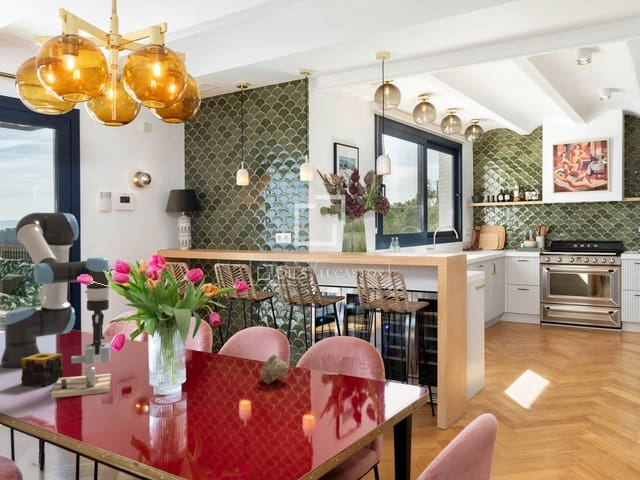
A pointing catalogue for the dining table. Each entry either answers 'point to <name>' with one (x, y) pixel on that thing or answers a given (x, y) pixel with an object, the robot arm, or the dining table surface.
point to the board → (81, 386)
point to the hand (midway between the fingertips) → (98, 359)
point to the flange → (89, 355)
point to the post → (90, 377)
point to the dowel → (64, 383)
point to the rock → (273, 369)
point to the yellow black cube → (41, 369)
